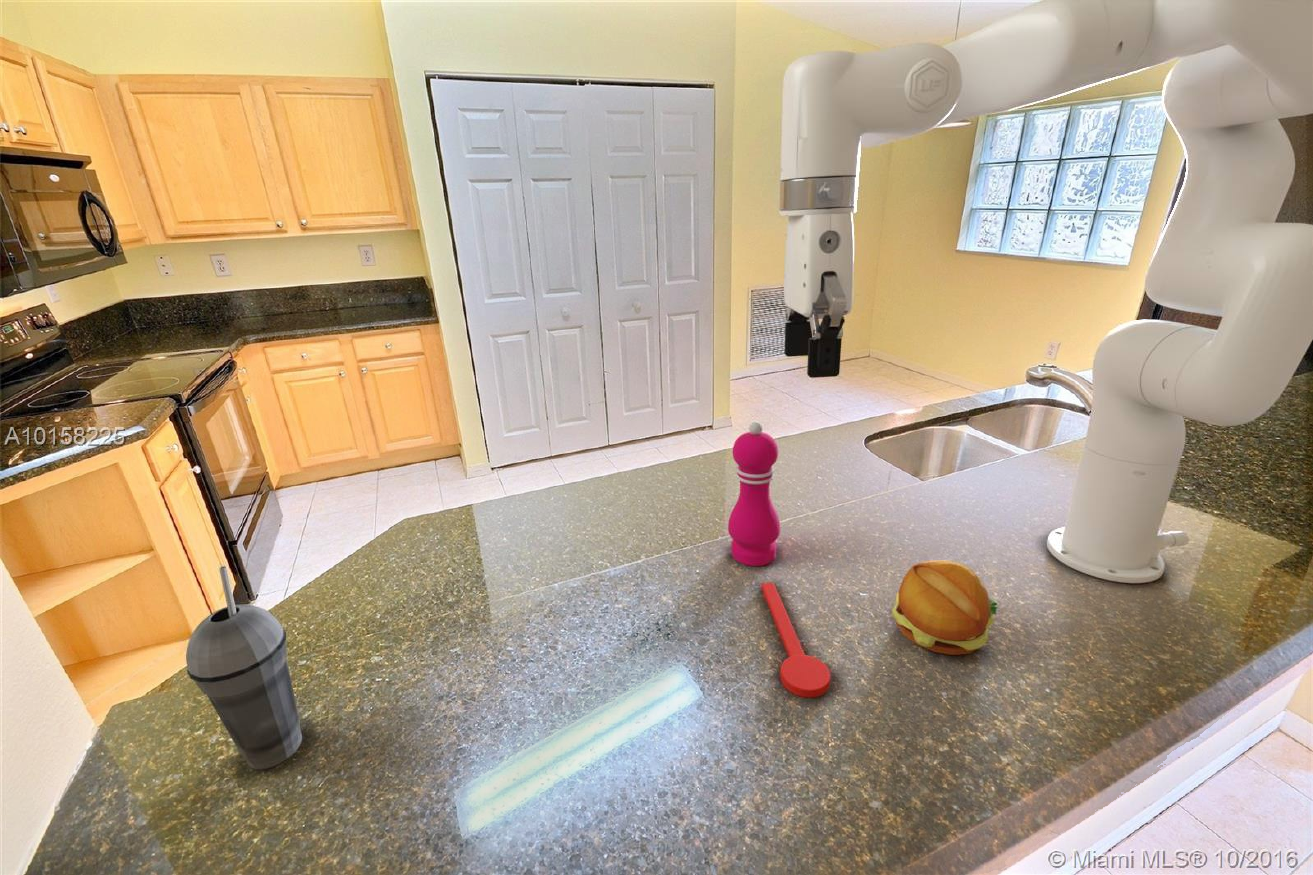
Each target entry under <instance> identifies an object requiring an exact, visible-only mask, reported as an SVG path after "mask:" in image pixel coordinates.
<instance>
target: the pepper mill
mask: <svg viewBox="0 0 1313 875" xmlns="http://www.w3.org/2000/svg"><path fill="white" fill-rule="evenodd" d="M763 429H764V428H763V425H762V424H761V423H760V422H759V421H753V422H751V423H750V424H749V426H748V431H747V432H745V433H742V434H740V435H739V436H738V437H737V438H736V439H735V441H734V443H733V446H732V458H733V460H734V462H735V463H736V464H737V466H736V467H735V471H736V474H735V477H736V479H737V480H738V481H739V495H738V498H737V501H736V502H735V505H734V507H733V508H732V511H731V512H730V516H729V519H728V525H727V531H728V534H729V536H730V537H731V539H732V540H731V550H730V551H731V556H732V558H733V559H734V560H735V561H736V562H738V563H740V564H742V565H746V566H750V567H760V566H765V565H768V564H771V563H772V562H773V561H774V560H775V559H776V556H777V543H776V540H777V539H778V538H779V537H780V534H781V522H780V518H779V515H778V513H777V510H776V508H775V506H774V504H773V502H772V499H771V495H770V494H771V493H770V485H771V481H773V479H775V478H774V477H775V475H774V472H775V467H774V464H775V463H776V462H777V461H778V457H779V447H778V444H777V443H778V442H776V440H775V438H774V437H773V436H771V435H770V434H768V433H766V432H763Z"/></svg>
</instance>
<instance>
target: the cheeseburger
mask: <svg viewBox="0 0 1313 875" xmlns="http://www.w3.org/2000/svg"><path fill="white" fill-rule="evenodd" d="M997 605H998V603H997V602H996V601H994V600H992V599H991V598H990V596H989V593H988V590H987V588H986V586H985V584H984V582H983V581H982V579H981V578H980V577H979V576H978V574H977V573H976V572H974V570H972V568H970V567H968V566H967V565H965V564H962V563H960V562H957V561H956V562H955V561H951V560H943V559H932V560H925V561H921V562H918V563H916V564H914V565H913V566H911V567H910V569H908V571H907V572H906V573H905V575H904V577H903V578H902V581H901V583H900V586H899V589H898V591H897V592H896V594H895V605H894V607H893V609H892V610H891V612H892V616H893V618H894V620H895V622H896V626H897V628H898V629H899V630H900V631H901V633H902V634H903V636H904V637H905V638H906V639H909V640H910V641H912V643H914V644H916V645H917V646H919V647H922V648H925V649H926V650H929V651H932V652H934V653H939V654H945V655H952V656H956V655H966V654H967V655H968V654H971V653H972V652H974V651H976V650H979V649H981V648H982V647H983V646H984V645H986V643H987V642H988V636H989V628H990V627H991V626H992V625H993V624H994V619H995V616H994V615H997V609H998V606H997Z"/></svg>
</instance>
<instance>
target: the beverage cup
mask: <svg viewBox="0 0 1313 875" xmlns="http://www.w3.org/2000/svg"><path fill="white" fill-rule="evenodd" d="M218 569H219V574H220V579H221V583H222V589H223V592H224V593H223V594H224V597H225V603H226V606H225V607H222V608H220V609H217V610H215V611H214V612H212V613H210V614H209V615H208V616H206V617H205V618H204V619H203V620H201V622H200V623H199V624H197V627H195V629H194V630H193V632H192V633H191V635H190V637H189V640H188V643H187V647H186V653H185V662H186V663H185V664H186V666H187V668H186V672H187V673H186V674H187V675H188V677H189V679H191V680H193V681H194V683H195V685H196V686H197V687H198V688H199V690H200V691H201V692H202V694H204V695H206V696H207V698H208V700H209V702H210V703H211V705H212V707H213V708H214V710H215V712H216V714H217V715H218V717H219V719H220V721H221V722H222V724H223V726H224V727H225V729H226V731H227V733H228V734H229V736H230V738H231V739H232V741H233V743H234V745H235V746H236V748H237V750H238V752H239V753H240V756H241V757H243V758H244V760H245V762H246V764H247V766H248V767H249V768H251V769H253V770H267V769H271V768H274V767H275V766H278V765H280V764H281V763H283V762H285V761H286V760H288V759H289V758H290V757H291V756H293V754H295V753H296V751H297V750H298V749H299V747H300V746H301V744H302V742H303V734H302V731H301V720H300V716H299V711H298V706H297V701H296V696H295V692H294V687H293V682H292V676H291V672H290V669H289V668H290V667H289V664H288V659H287V658H288V651H287V632H286V630H285V629H284V628H283V627H282V624H281V623H280V621H279V620H278V619H277V618H276V617H275V616H274V615H273V614H272V613H271V612H270V611H269V610H267V609H266V608H262V607H260V606H257V605H254V604H243V603H242V604H241V603H240V604H236V603H235V600H234V595H233V591H232V586H231V581H230V576H229V572H228V566H226V565H222V566H220V567H219V568H218Z"/></svg>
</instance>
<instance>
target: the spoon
mask: <svg viewBox="0 0 1313 875" xmlns="http://www.w3.org/2000/svg"><path fill="white" fill-rule="evenodd" d="M760 586H761V587H760V588H761V590H762V593H763V596H764V599H765V601H766V603H767V606H768V608H769V611H770V614H771V616H772V618H773V621H774V624H775V626H776V629H777V632H778V634H779V637H780V639H781V642H782V644H783V646H784V650H785V651H786V654H787V656H788V657H787V658H786V659H785V660H783V662H782V663H781V666H780V674H779V675H780V681H781V683H782V685H783V687H784V688H785V689H786V690H787V691H788V692H790V693H792V694H794V695H796V696H798V697H802V698H807V699H810V698H818V697H820V696H822V695H824V694H825V693H827V692H828V690H829V689H830V686H831V671H830V669H829V668H828V666H827V665H826V664H825V663H824V662H823V661H821V660H820V659H818V658H817V657H814V656H810V655H806V654H805V652H804V650H803V647H802V645H801V643H800V641H799V638H798V636H797V634H796V631H795V629H794V627H793V624H792V622H791V620H790V618H789V615H788V613H787V611H786V608H785V605H784V604H783V601H782V598H781V597H780V594H779V592H778V589H777V588H776V585H775V583H774V582H761V585H760Z"/></svg>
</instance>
